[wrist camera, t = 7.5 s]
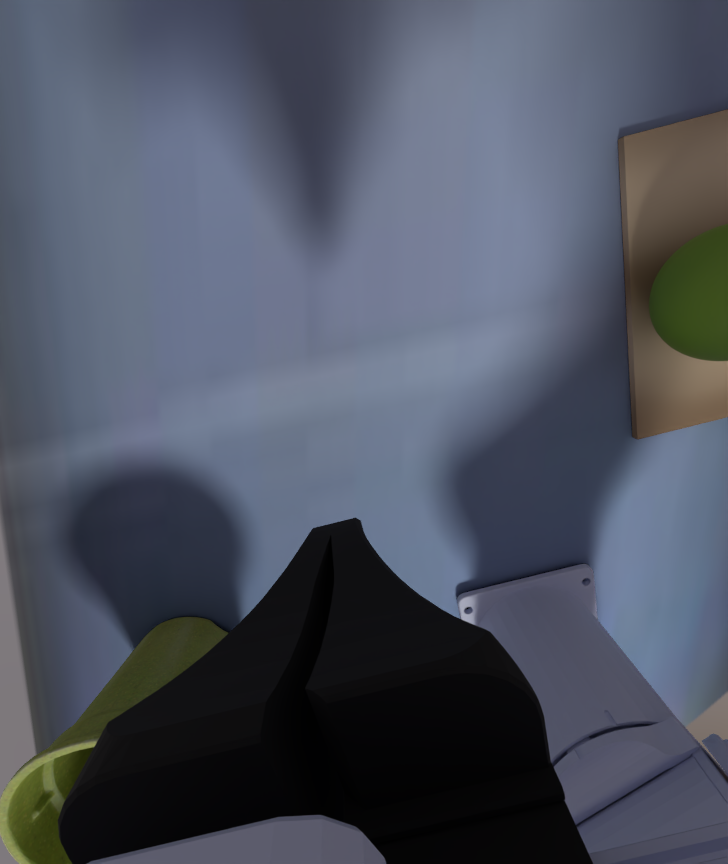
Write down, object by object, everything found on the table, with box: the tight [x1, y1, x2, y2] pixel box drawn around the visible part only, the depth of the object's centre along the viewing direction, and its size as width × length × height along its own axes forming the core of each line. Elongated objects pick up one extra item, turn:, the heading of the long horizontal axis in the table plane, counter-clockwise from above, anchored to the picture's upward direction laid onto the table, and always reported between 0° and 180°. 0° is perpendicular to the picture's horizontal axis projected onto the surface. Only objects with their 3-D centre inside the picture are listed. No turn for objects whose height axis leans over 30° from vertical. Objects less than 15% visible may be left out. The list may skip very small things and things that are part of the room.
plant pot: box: [0, 617, 228, 864], centre depth 21 cm, size 9×9×9 cm
